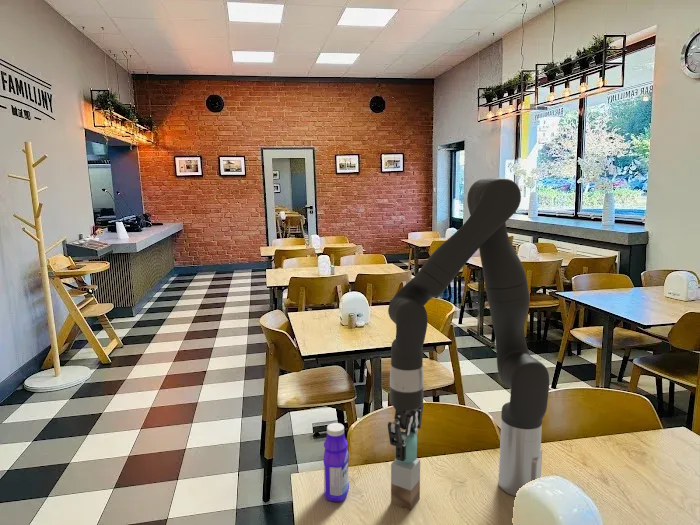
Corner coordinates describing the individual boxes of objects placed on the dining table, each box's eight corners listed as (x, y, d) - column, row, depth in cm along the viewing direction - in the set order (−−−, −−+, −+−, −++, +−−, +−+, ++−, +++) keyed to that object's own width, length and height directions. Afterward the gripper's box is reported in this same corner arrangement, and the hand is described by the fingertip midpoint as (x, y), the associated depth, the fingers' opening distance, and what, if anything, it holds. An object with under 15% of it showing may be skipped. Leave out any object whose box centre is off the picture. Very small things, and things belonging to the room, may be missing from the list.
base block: (419, 498, 113) (419, 479, 112) (410, 510, 109) (410, 490, 108) (400, 491, 116) (400, 472, 115) (391, 503, 112) (391, 483, 111)
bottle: (345, 505, 111) (344, 435, 108) (321, 502, 112) (319, 433, 109) (351, 486, 118) (350, 420, 115) (328, 484, 119) (327, 418, 116)
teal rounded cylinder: (420, 454, 111) (420, 434, 111) (410, 465, 107) (411, 444, 106) (400, 448, 114) (400, 428, 113) (391, 458, 110) (391, 438, 109)
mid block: (420, 479, 112) (420, 459, 112) (410, 490, 108) (411, 470, 107) (400, 472, 115) (400, 453, 114) (391, 483, 111) (391, 463, 110)
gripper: (407, 399, 100) (407, 474, 103) (434, 376, 112) (433, 444, 115) (376, 391, 104) (376, 464, 107) (405, 370, 116) (404, 436, 119)
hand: (405, 453), depth 111 cm, fingers closed on teal rounded cylinder, 4 cm apart
